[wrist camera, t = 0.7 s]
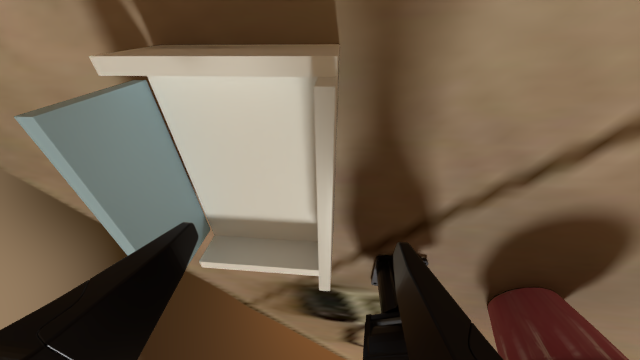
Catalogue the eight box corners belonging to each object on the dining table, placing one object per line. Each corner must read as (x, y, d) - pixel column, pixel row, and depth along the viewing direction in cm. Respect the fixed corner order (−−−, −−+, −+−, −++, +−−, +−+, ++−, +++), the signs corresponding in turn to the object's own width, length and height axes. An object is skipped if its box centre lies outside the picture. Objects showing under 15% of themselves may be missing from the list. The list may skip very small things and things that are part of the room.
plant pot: (509, 266, 29) (599, 405, 19) (611, 287, 30) (754, 433, 19) (450, 315, 37) (490, 429, 27) (530, 330, 38) (600, 448, 28)
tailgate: (210, 229, 26) (169, 294, 20) (197, 228, 26) (152, 292, 20) (146, 80, 17) (32, 117, 11) (126, 79, 17) (2, 116, 11)
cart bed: (333, 231, 28) (329, 296, 22) (225, 225, 29) (191, 285, 23) (339, 44, 16) (336, 62, 10) (159, 44, 17) (51, 62, 11)
